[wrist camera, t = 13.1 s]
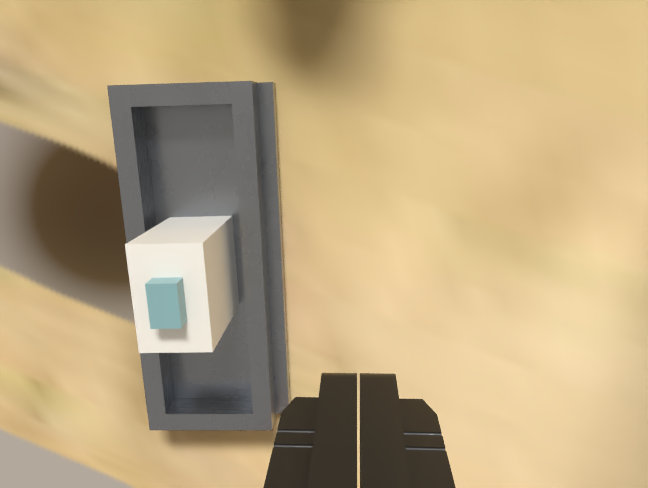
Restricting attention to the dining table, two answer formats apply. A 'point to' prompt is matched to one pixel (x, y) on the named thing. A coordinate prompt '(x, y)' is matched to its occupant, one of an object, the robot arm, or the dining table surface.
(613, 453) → the dining table surface
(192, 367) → the grey rectangular tray
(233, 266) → the block
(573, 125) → the dining table surface
